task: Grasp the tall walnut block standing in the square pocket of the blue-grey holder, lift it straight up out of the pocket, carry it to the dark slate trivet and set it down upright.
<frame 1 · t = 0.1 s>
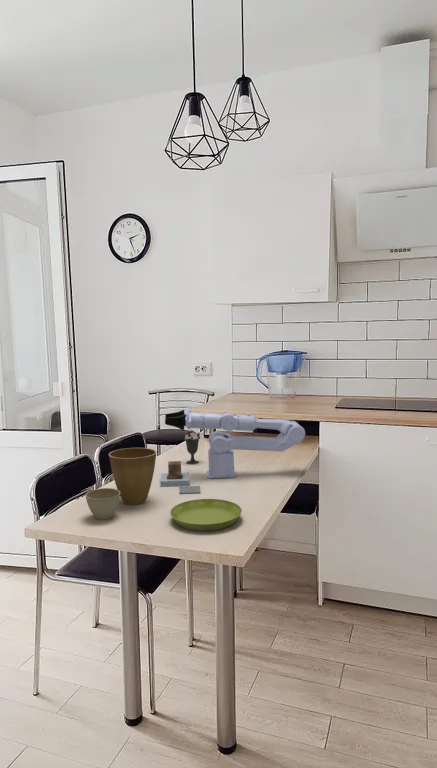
hand: (165, 419, 203), 22 cm above the table, tool horizontal, fingers open, 7 cm apart
flower pot: (103, 517, 166), on the table
slate trivet: (189, 490, 189), on the table
saucer: (206, 521, 162), on the table
walnut block: (175, 482, 199), resting in pocket holder
sundae: (192, 463, 225), on the table
plant pot: (134, 501, 179), on the table
pocket holder: (175, 481, 199), on the table
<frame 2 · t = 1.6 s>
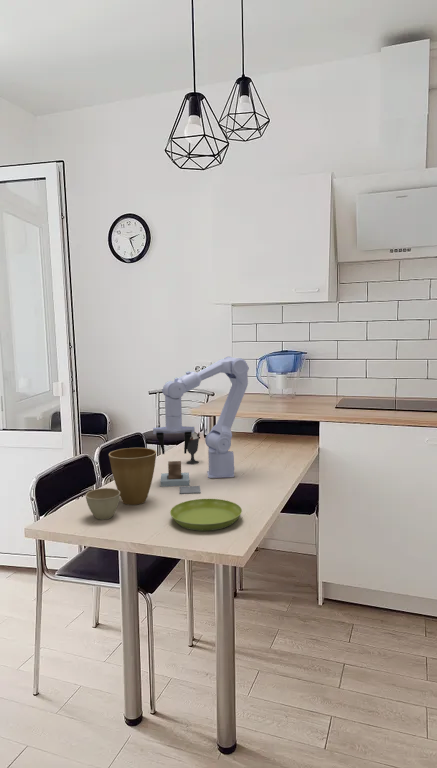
hand: (174, 453, 198), 10 cm above the table, tool pointing down, fingers open, 7 cm apart
nothing on the table moved.
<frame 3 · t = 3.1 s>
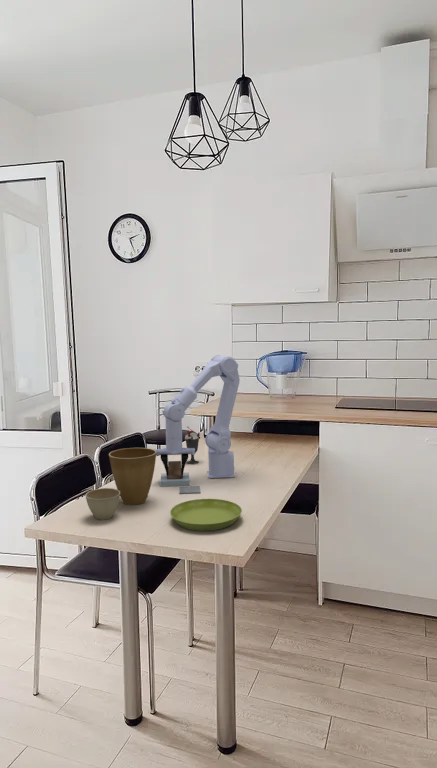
hand: (174, 474, 199), 3 cm above the table, tool pointing down, fingers closed on walnut block, 4 cm apart
walnut block: (175, 481, 199), resting in pocket holder, touching gripper
everything else where it was.
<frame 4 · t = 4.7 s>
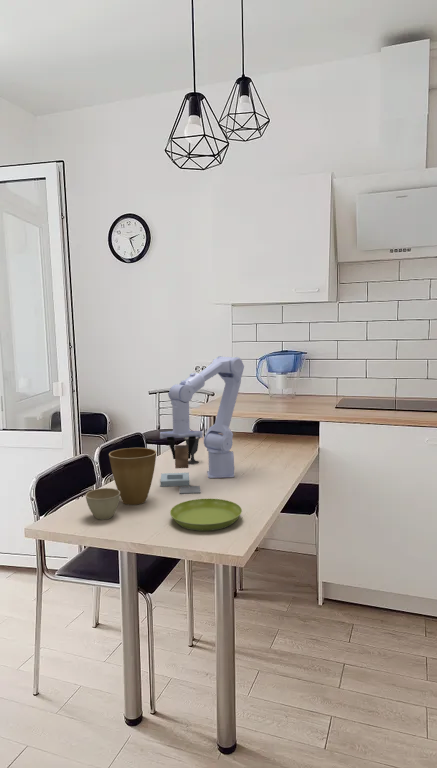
hand: (181, 458, 193), 10 cm above the table, tool pointing down, fingers closed on walnut block, 4 cm apart
walnut block: (181, 466, 193), point 7 cm above the table, touching gripper
everything else where it was.
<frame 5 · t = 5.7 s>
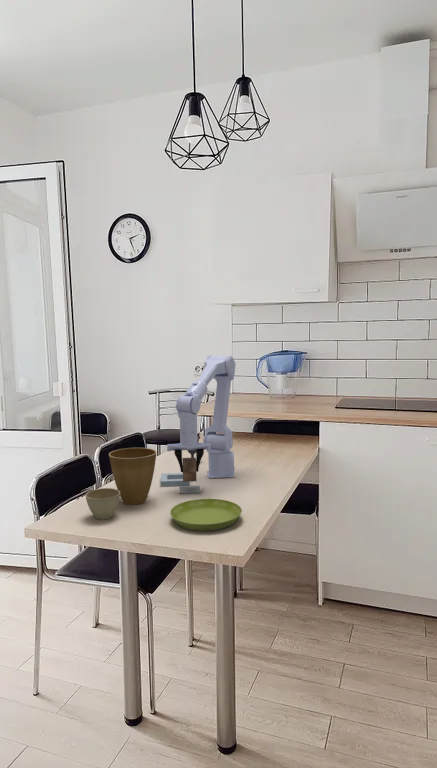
hand: (189, 471, 189), 7 cm above the table, tool pointing down, fingers closed on walnut block, 4 cm apart
walnut block: (189, 479, 189), point 4 cm above the table, touching gripper
everything else where it was.
when the fingers open (4 cm above the table, at t = 6.7 s): walnut block stays where it is, resting on slate trivet.
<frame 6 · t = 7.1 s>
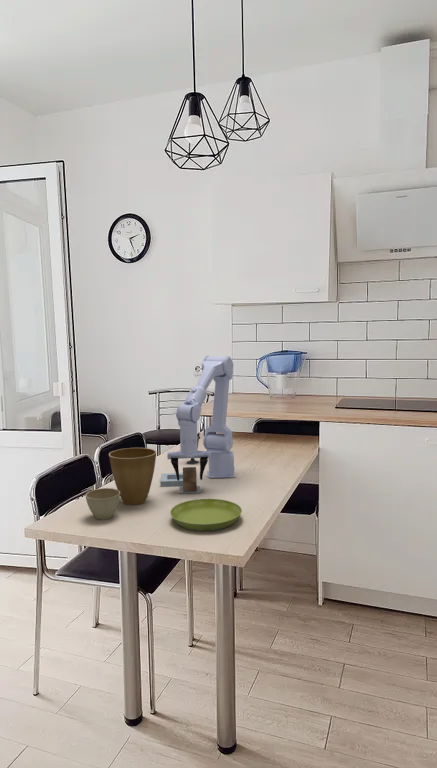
hand: (189, 479, 189), 4 cm above the table, tool pointing down, fingers open, 7 cm apart
walnut block: (189, 489, 190), resting on slate trivet
everything else where it was.
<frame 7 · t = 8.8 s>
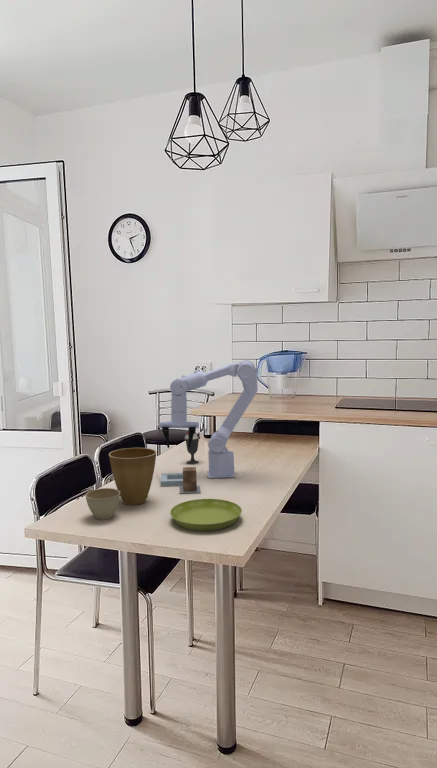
hand: (178, 447, 207), 10 cm above the table, tool pointing down, fingers open, 7 cm apart
nothing on the table moved.
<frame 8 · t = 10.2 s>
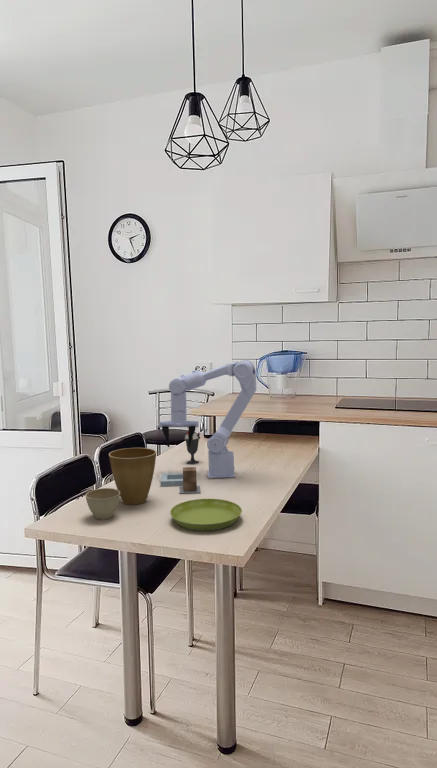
hand: (178, 446, 209), 10 cm above the table, tool pointing down, fingers open, 7 cm apart
nothing on the table moved.
at the end: walnut block inside the target area on the slate trivet (0.2 cm from its centre), point 0.4 cm above the slate trivet's base; walnut block tilted 0°; the gripper is holding nothing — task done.
